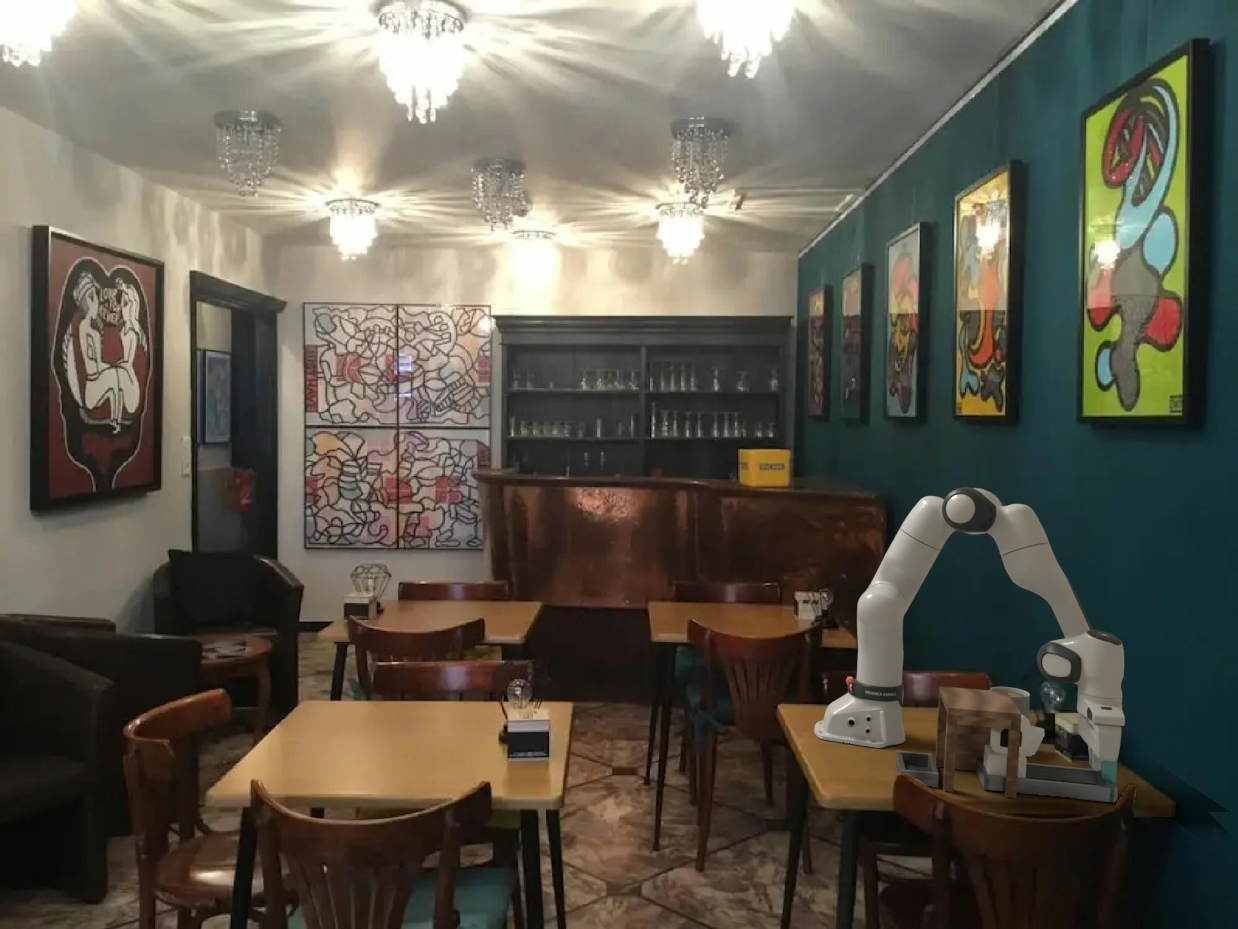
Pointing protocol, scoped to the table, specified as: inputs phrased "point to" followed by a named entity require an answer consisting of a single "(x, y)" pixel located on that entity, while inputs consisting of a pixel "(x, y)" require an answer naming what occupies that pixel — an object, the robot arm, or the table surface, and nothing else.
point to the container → (1001, 754)
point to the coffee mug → (1017, 698)
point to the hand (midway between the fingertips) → (1095, 768)
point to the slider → (1098, 792)
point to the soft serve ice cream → (1030, 737)
